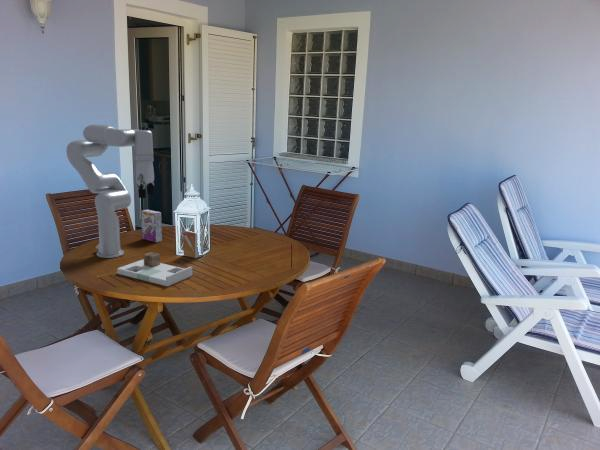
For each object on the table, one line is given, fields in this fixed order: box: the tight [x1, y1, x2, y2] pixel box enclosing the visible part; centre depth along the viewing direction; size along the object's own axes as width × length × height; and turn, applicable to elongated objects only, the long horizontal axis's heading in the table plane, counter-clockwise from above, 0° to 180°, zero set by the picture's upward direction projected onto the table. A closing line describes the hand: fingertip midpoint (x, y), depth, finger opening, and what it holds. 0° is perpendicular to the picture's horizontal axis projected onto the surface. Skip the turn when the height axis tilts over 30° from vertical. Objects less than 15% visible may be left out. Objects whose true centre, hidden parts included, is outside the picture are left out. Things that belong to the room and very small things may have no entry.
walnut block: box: [143, 251, 161, 267], centre depth 222 cm, size 5×5×5 cm
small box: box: [182, 230, 204, 259], centre depth 245 cm, size 8×6×13 cm
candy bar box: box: [140, 209, 163, 243], centre depth 268 cm, size 11×5×16 cm, turn 58°
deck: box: [116, 258, 193, 287], centre depth 216 cm, size 29×16×4 cm, turn 63°
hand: (146, 196), depth 222 cm, fingers open, 9 cm apart
